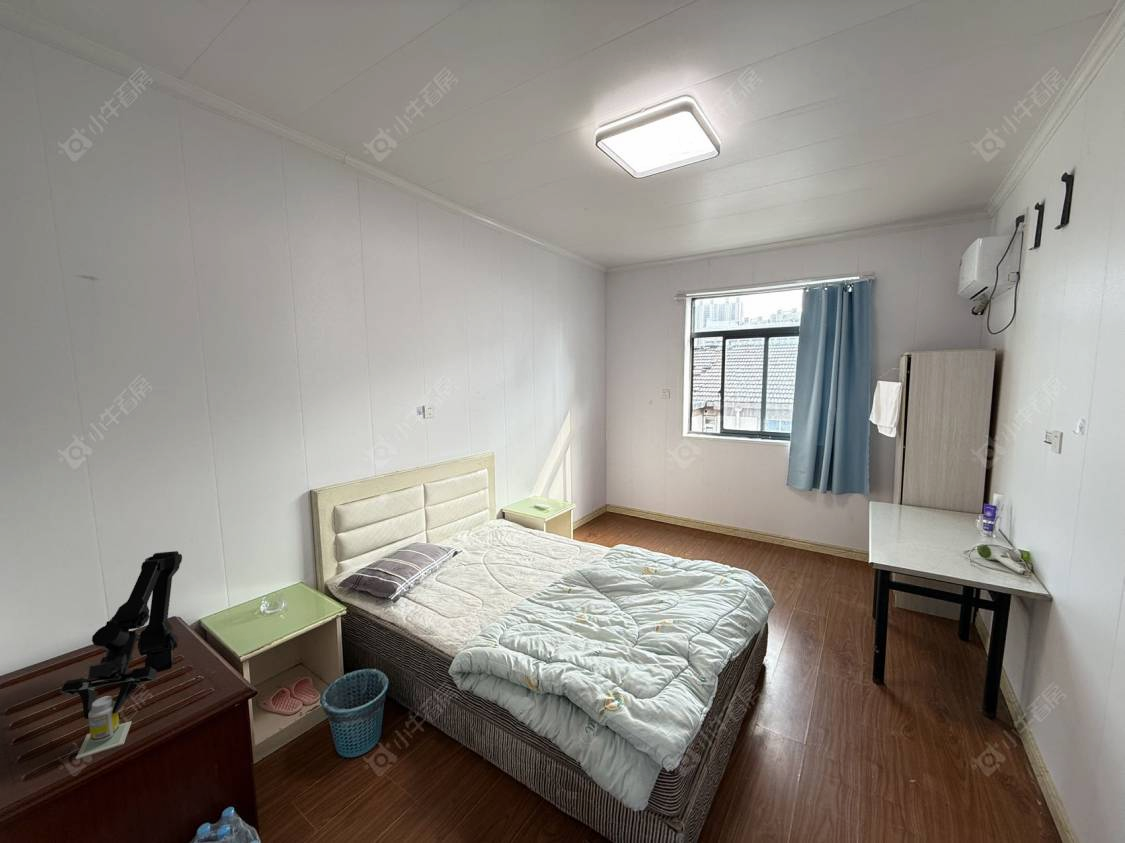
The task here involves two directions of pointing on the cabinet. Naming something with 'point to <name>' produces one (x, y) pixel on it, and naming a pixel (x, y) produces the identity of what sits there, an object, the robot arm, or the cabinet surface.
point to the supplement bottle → (103, 719)
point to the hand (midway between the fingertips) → (100, 716)
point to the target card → (104, 742)
